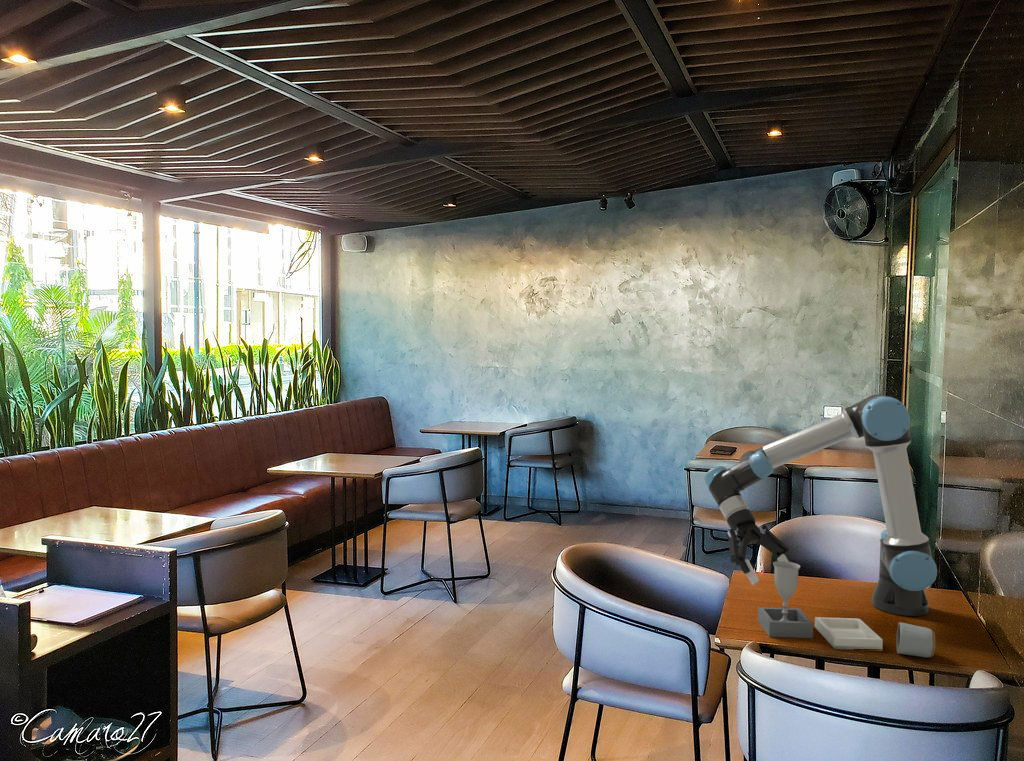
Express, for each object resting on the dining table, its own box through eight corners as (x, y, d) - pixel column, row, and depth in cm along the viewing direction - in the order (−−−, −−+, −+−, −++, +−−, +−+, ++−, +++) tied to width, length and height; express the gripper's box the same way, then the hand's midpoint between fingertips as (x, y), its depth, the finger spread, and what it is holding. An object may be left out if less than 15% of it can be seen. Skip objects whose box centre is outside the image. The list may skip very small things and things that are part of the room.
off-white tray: (859, 628, 210) (859, 618, 210) (882, 650, 195) (882, 639, 195) (814, 627, 211) (815, 617, 211) (834, 648, 196) (834, 638, 196)
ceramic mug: (935, 663, 188) (936, 632, 188) (898, 657, 191) (900, 627, 190) (928, 647, 198) (929, 618, 197) (893, 643, 201) (894, 614, 200)
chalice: (803, 631, 208) (805, 566, 207) (788, 636, 204) (790, 570, 203) (780, 622, 214) (782, 559, 213) (765, 627, 210) (767, 563, 209)
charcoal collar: (799, 622, 214) (799, 608, 214) (812, 638, 203) (813, 623, 203) (757, 621, 215) (758, 607, 215) (769, 636, 203) (769, 621, 203)
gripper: (762, 517, 231) (799, 580, 219) (698, 525, 220) (732, 592, 208) (776, 504, 226) (814, 567, 214) (711, 511, 215) (747, 578, 203)
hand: (774, 580), depth 211 cm, fingers open, 13 cm apart
